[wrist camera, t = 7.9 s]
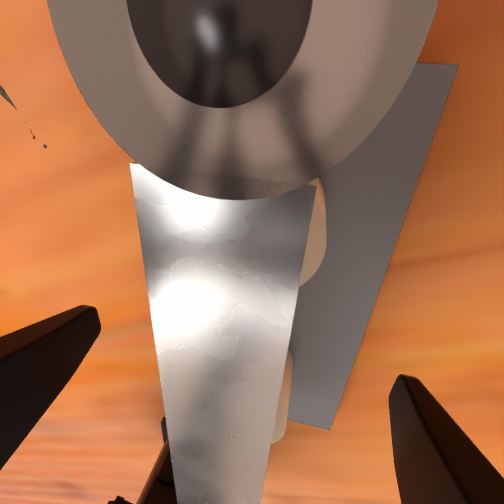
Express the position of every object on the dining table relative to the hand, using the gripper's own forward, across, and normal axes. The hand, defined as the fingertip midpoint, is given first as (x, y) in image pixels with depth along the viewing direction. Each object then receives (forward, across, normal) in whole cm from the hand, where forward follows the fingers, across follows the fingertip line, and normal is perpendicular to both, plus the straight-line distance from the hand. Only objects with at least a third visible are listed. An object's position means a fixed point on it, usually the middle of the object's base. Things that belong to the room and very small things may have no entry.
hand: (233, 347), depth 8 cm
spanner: (+2, 0, 0) cm, 3 cm away
